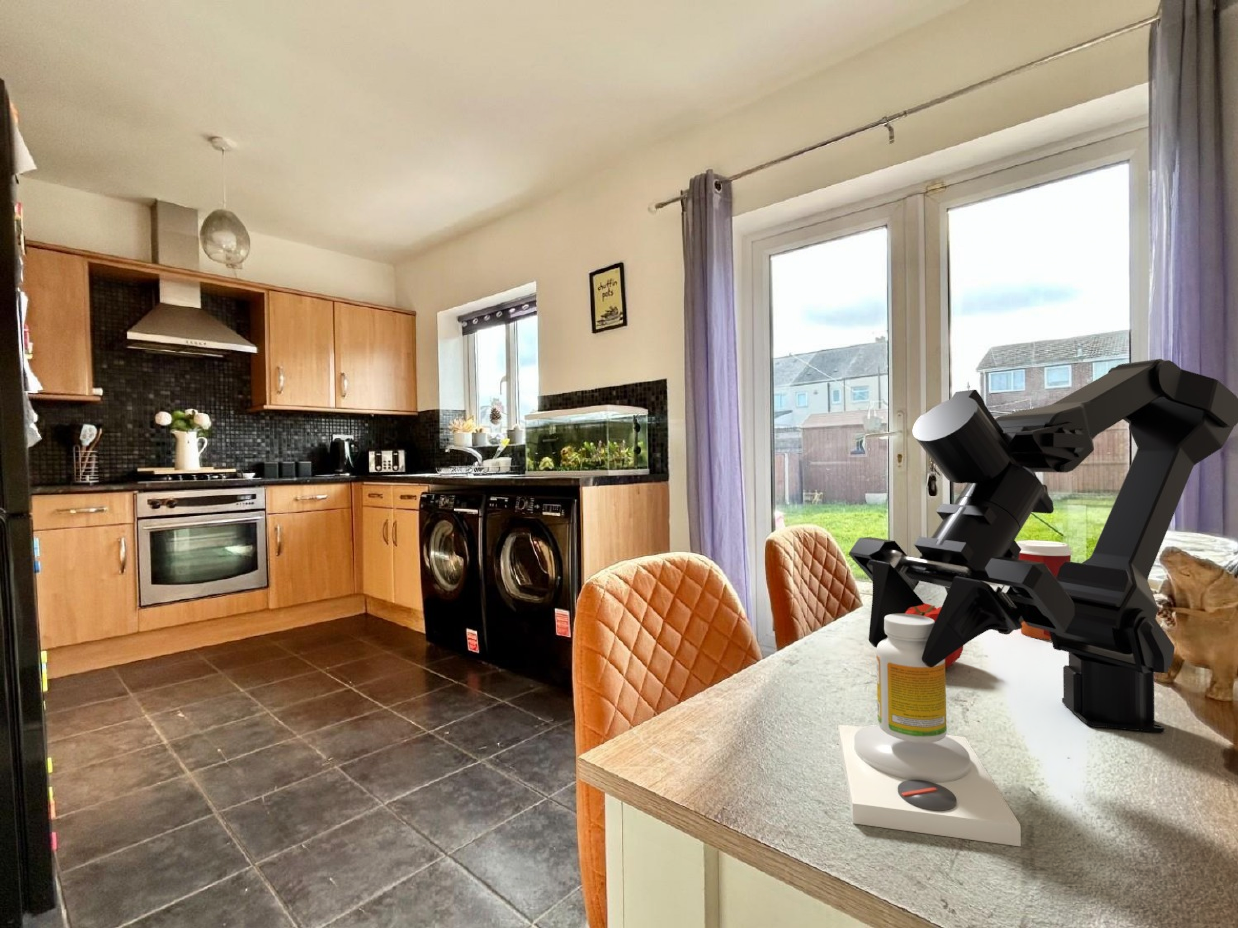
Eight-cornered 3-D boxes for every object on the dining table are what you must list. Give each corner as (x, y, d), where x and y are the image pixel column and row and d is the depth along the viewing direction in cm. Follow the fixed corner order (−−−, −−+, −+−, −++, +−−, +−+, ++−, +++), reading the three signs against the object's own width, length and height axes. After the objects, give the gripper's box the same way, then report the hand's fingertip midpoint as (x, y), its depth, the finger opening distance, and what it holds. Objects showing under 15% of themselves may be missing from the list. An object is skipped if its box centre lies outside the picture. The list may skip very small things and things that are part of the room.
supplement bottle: (962, 740, 51) (959, 624, 51) (906, 748, 49) (903, 629, 49) (916, 714, 56) (914, 608, 56) (864, 721, 55) (862, 613, 55)
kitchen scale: (965, 752, 56) (964, 728, 56) (1020, 846, 43) (1020, 813, 43) (838, 739, 59) (838, 716, 59) (852, 823, 45) (852, 792, 45)
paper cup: (1071, 632, 94) (1071, 541, 94) (1076, 645, 87) (1075, 547, 87) (1011, 625, 98) (1010, 538, 98) (1011, 637, 91) (1010, 544, 91)
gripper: (1142, 592, 50) (1056, 754, 46) (943, 559, 67) (868, 674, 63) (1078, 501, 47) (980, 666, 43) (887, 491, 64) (805, 607, 60)
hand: (898, 653), depth 52 cm, fingers closed on supplement bottle, 5 cm apart
